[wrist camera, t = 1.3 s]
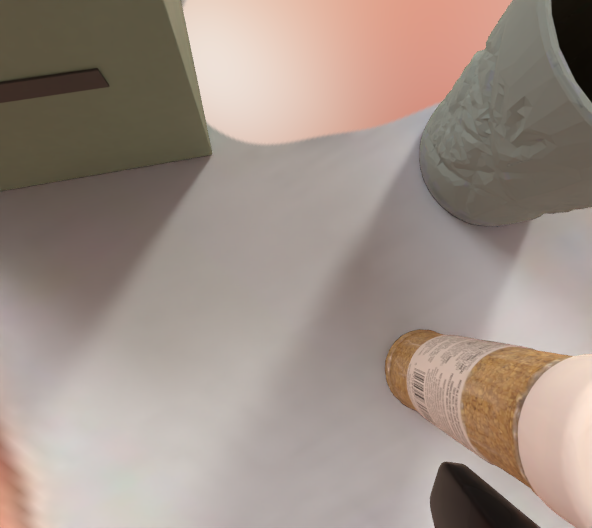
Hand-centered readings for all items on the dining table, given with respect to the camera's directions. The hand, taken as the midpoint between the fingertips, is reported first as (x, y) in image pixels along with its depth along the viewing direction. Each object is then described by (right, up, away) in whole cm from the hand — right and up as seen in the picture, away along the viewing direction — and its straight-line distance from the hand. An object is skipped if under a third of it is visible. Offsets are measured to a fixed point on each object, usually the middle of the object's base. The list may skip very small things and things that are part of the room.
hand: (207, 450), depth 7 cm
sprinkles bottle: (+9, -2, +15) cm, 18 cm away
